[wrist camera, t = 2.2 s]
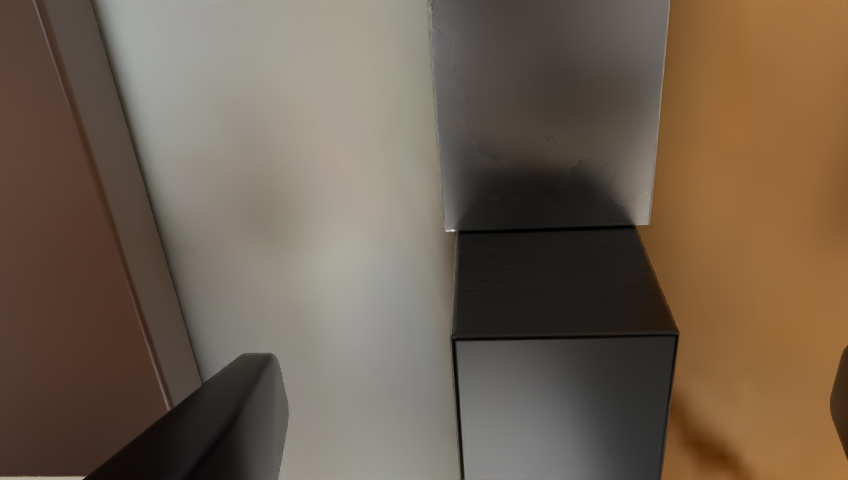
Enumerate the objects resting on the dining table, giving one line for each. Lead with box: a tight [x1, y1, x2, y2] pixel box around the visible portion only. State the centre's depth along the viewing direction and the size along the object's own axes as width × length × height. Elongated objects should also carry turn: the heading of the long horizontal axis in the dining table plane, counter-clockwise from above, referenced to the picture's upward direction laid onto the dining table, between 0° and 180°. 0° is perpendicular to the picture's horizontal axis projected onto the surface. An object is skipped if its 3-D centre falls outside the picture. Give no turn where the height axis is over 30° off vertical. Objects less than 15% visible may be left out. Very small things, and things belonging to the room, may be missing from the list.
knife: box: [427, 0, 680, 480], centre depth 7 cm, size 21×2×2 cm, turn 4°
